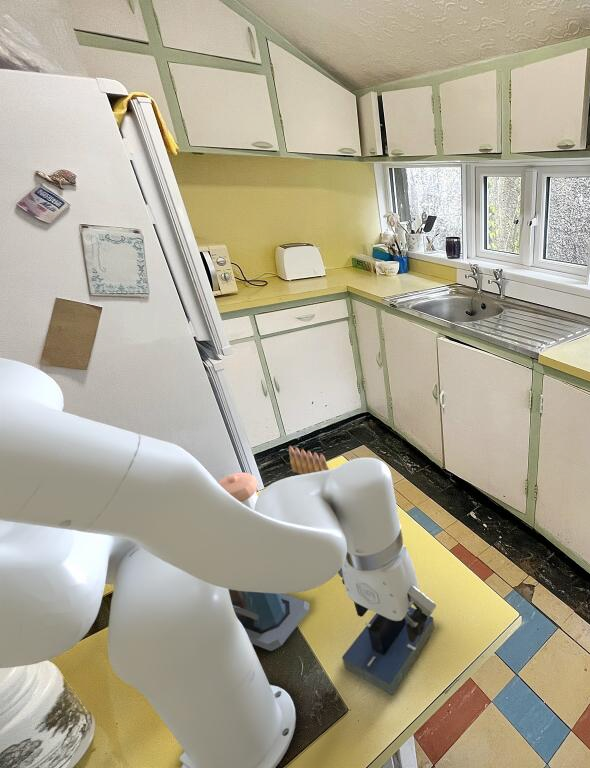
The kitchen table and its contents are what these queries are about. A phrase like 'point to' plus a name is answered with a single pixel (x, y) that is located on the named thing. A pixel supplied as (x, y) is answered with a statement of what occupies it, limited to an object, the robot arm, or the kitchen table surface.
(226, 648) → the robot arm
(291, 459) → the ammunition clip
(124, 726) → the kitchen table surface
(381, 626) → the switch handle
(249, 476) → the salt shaker
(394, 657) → the switch base
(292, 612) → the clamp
